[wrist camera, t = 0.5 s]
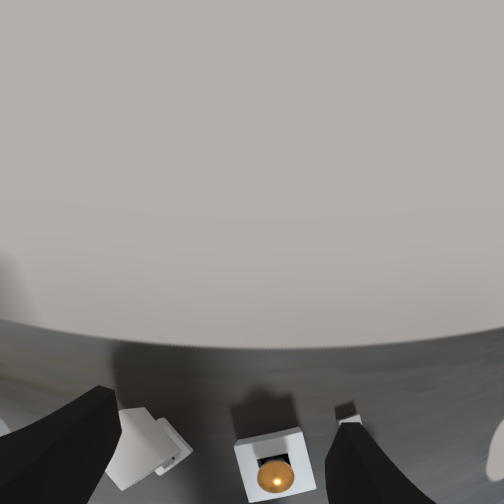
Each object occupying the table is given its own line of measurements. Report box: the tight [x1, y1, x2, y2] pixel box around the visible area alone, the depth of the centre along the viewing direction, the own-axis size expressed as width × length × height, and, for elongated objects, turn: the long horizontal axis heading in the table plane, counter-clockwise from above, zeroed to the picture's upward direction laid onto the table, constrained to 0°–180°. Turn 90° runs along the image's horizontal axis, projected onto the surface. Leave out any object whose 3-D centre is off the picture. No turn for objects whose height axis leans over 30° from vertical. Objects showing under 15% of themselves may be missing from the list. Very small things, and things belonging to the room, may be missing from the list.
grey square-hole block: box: [234, 427, 316, 503], centre depth 27 cm, size 7×7×4 cm
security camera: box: [105, 407, 193, 491], centre depth 25 cm, size 6×7×10 cm
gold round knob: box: [257, 457, 294, 493], centre depth 24 cm, size 3×3×4 cm
